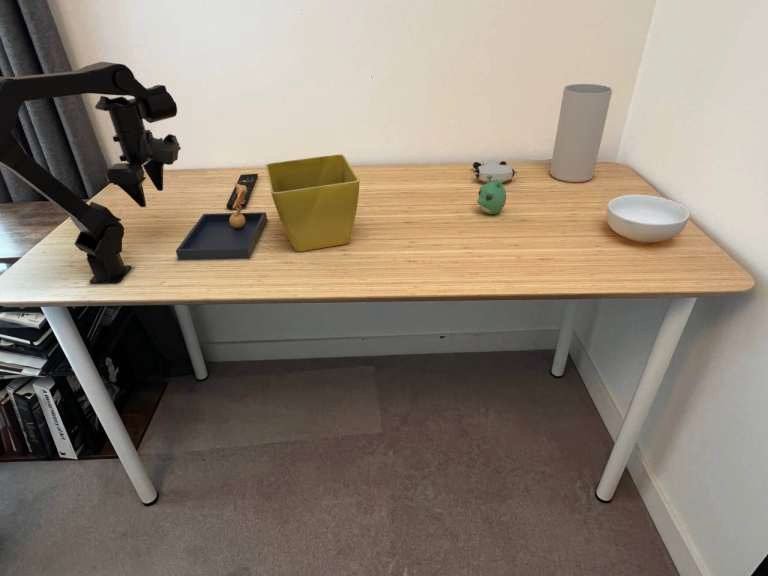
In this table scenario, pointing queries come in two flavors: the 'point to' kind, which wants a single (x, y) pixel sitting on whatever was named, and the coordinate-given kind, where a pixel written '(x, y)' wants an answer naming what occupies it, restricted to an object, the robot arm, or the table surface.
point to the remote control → (249, 182)
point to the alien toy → (492, 196)
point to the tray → (222, 237)
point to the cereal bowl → (646, 218)
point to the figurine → (237, 218)
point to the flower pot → (315, 200)
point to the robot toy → (493, 170)
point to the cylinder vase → (579, 131)
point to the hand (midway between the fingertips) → (152, 198)
